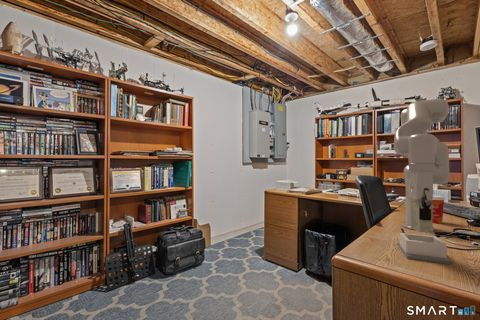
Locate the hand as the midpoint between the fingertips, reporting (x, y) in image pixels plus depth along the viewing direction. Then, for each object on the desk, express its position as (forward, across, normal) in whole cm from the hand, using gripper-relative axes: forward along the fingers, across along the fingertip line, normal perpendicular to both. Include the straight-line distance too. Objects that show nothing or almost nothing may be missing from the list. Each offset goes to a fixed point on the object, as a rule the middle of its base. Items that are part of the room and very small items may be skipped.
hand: (421, 217), depth 84 cm
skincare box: (+5, 0, 0) cm, 5 cm away
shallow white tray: (+13, 0, 0) cm, 13 cm away
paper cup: (+13, -53, +21) cm, 59 cm away
